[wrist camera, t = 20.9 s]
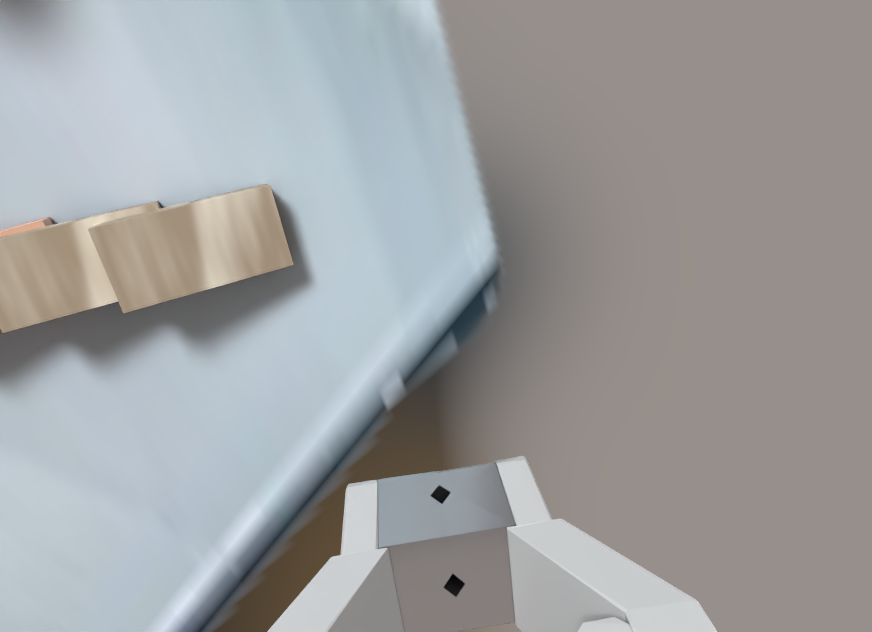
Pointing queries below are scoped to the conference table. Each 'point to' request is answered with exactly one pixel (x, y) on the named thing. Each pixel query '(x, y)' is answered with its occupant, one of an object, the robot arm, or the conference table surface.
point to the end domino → (191, 246)
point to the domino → (54, 271)
